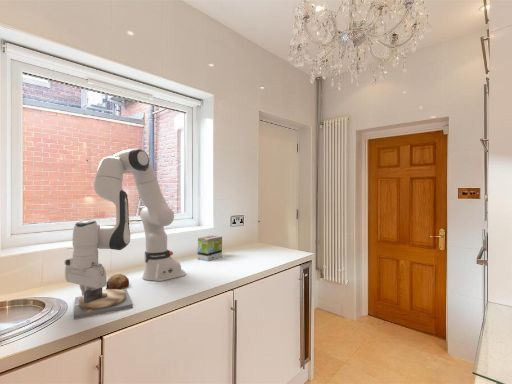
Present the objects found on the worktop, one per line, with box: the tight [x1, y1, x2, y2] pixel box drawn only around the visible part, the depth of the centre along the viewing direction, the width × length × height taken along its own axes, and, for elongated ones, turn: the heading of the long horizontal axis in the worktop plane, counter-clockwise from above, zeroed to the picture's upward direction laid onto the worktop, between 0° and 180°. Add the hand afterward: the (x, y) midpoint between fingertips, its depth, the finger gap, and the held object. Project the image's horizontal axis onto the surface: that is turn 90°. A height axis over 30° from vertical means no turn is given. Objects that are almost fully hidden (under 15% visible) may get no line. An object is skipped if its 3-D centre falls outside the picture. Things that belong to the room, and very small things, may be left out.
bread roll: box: [105, 273, 130, 290], centre depth 137 cm, size 10×10×8 cm
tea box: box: [196, 235, 223, 262], centre depth 195 cm, size 15×10×15 cm, turn 148°
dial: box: [79, 287, 126, 309], centre depth 116 cm, size 17×17×6 cm
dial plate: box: [73, 288, 134, 320], centre depth 117 cm, size 20×20×2 cm
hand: (85, 295), depth 112 cm, fingers closed
